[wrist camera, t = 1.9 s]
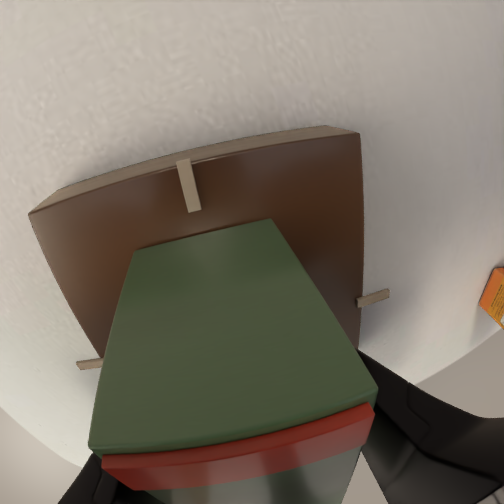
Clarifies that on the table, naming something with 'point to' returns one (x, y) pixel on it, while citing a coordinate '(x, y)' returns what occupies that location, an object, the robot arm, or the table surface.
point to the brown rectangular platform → (213, 218)
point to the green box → (229, 377)
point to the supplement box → (494, 296)
